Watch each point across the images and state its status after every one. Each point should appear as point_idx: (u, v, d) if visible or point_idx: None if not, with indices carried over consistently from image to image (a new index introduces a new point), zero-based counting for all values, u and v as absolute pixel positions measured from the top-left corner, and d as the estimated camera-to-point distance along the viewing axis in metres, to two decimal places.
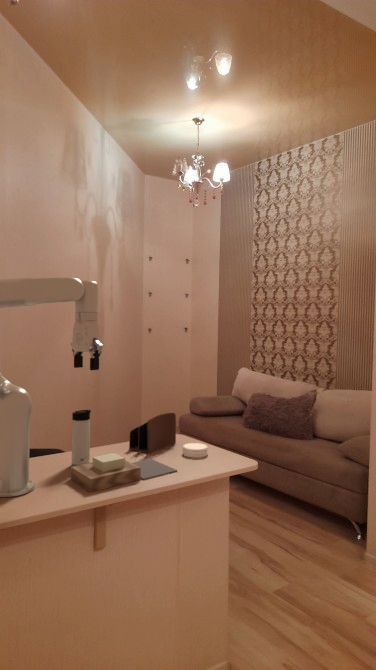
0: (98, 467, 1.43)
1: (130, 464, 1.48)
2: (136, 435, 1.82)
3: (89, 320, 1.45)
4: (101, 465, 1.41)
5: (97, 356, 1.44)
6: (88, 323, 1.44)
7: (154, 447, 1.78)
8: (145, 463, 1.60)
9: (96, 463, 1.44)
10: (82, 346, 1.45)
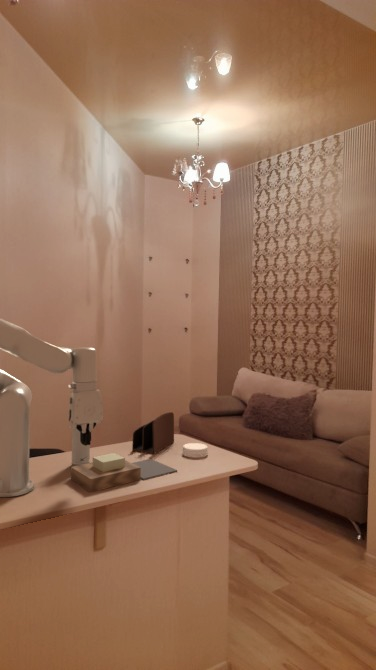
0: (98, 467, 1.43)
1: (130, 464, 1.48)
2: (138, 436, 1.81)
3: None
4: (101, 465, 1.41)
5: None
6: (99, 391, 1.41)
7: (158, 447, 1.78)
8: (145, 463, 1.60)
9: (96, 463, 1.44)
10: (95, 416, 1.39)
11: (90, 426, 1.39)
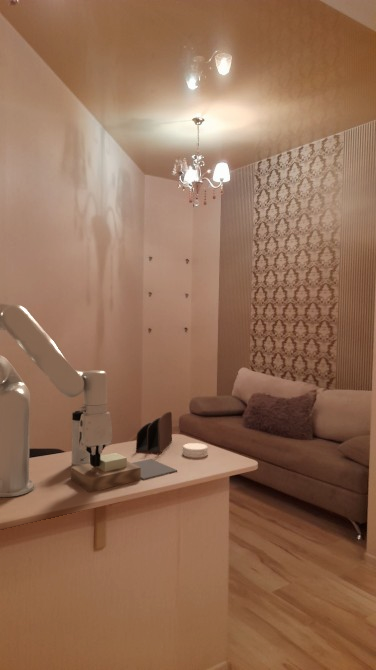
0: (100, 467, 1.43)
1: (130, 464, 1.48)
2: (140, 437, 1.80)
3: (106, 411, 1.43)
4: (103, 465, 1.42)
5: None
6: (109, 414, 1.43)
7: (162, 447, 1.78)
8: (145, 463, 1.60)
9: None
10: (105, 439, 1.41)
11: (99, 448, 1.42)
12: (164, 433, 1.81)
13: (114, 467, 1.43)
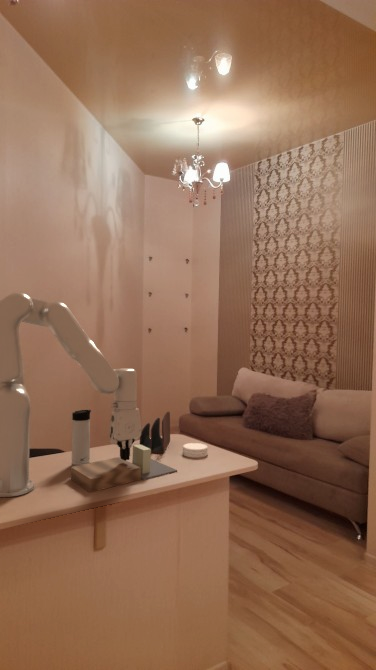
0: (140, 447, 1.52)
1: (130, 464, 1.48)
2: (143, 438, 1.79)
3: None
4: (146, 448, 1.51)
5: None
6: (138, 410, 1.50)
7: (165, 447, 1.78)
8: None
9: (141, 446, 1.54)
10: (134, 433, 1.48)
11: (129, 442, 1.49)
12: (166, 433, 1.82)
13: (144, 460, 1.50)
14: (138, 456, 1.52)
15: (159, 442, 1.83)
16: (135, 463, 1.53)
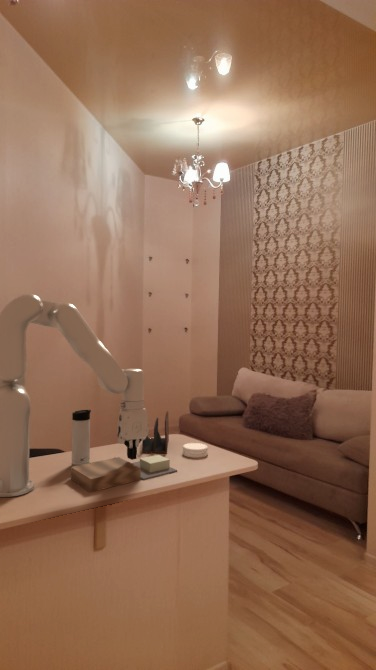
0: None
1: (130, 464, 1.48)
2: None
3: None
4: None
5: None
6: (145, 410, 1.52)
7: None
8: None
9: None
10: (141, 433, 1.50)
11: (136, 442, 1.51)
12: None
13: (161, 463, 1.54)
14: (158, 458, 1.57)
15: (160, 442, 1.83)
16: (148, 458, 1.56)
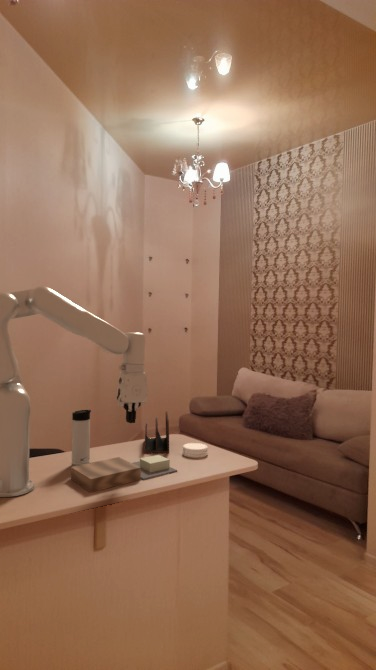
0: None
1: (130, 464, 1.48)
2: (146, 438, 1.78)
3: None
4: None
5: None
6: None
7: (168, 446, 1.79)
8: None
9: None
10: (141, 397, 1.50)
11: (136, 405, 1.50)
12: None
13: (161, 463, 1.54)
14: (158, 458, 1.57)
15: (161, 442, 1.83)
16: (148, 458, 1.56)
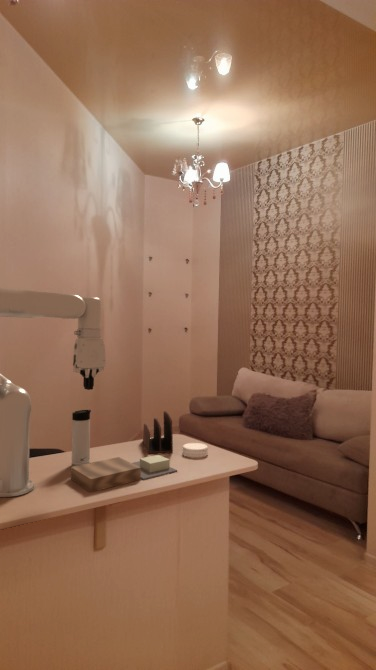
0: None
1: (130, 464, 1.48)
2: None
3: None
4: None
5: None
6: None
7: None
8: None
9: None
10: (98, 363, 1.47)
11: (93, 372, 1.47)
12: (169, 432, 1.83)
13: (161, 463, 1.54)
14: (158, 458, 1.57)
15: (162, 442, 1.83)
16: (148, 458, 1.56)
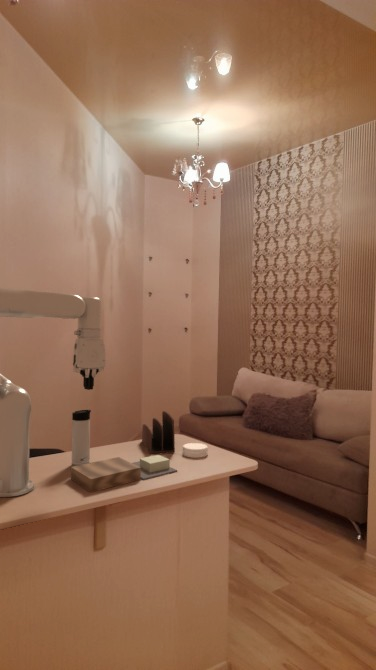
0: None
1: (130, 464, 1.48)
2: None
3: None
4: None
5: None
6: None
7: None
8: None
9: None
10: (98, 362, 1.47)
11: (93, 372, 1.47)
12: None
13: (161, 463, 1.54)
14: (158, 458, 1.57)
15: (162, 442, 1.84)
16: (148, 458, 1.56)
